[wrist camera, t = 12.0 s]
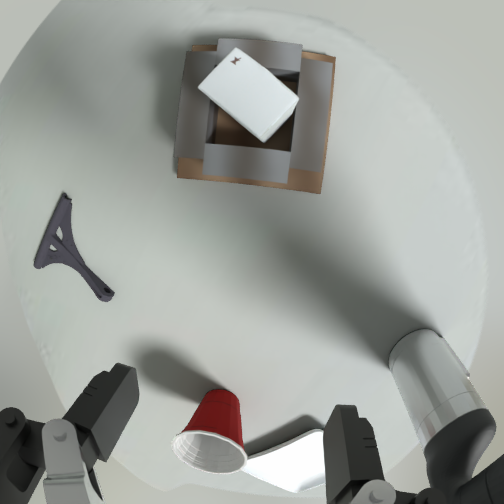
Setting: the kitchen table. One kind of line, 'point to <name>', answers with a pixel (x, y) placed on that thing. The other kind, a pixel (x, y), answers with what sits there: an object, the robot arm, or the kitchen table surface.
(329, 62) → the holder
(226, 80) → the skincare box
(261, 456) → the salad plate
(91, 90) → the kitchen table surface
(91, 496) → the robot arm
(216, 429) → the plastic cup
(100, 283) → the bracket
